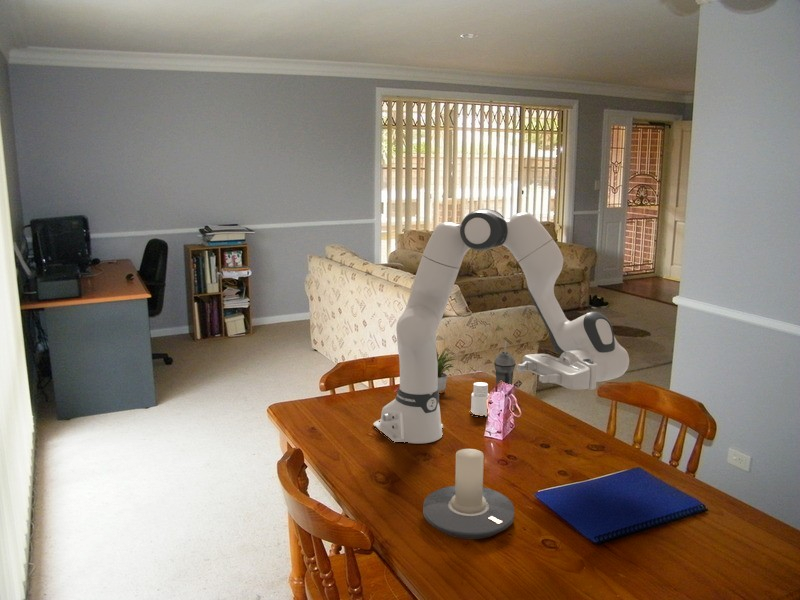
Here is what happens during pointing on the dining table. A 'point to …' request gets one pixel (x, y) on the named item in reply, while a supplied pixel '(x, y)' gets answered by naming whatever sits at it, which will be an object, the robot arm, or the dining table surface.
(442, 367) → the house plant
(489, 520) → the turntable
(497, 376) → the beverage cup
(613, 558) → the dining table surface
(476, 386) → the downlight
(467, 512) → the white flanged cylinder
